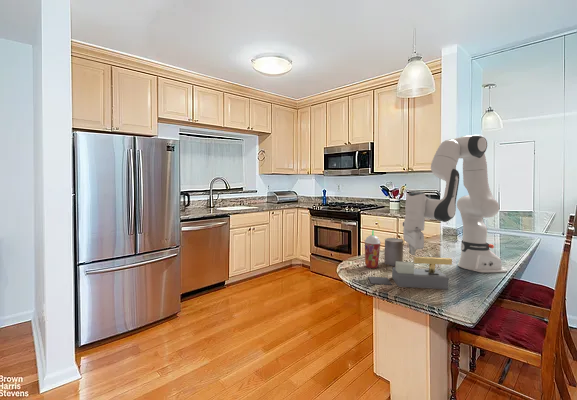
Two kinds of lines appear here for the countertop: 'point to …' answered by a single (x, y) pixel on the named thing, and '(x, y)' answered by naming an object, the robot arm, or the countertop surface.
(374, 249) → the smoothie
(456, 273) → the countertop surface
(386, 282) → the mat
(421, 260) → the key
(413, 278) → the housing
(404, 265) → the cover
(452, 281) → the countertop surface
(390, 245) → the pillar candle
